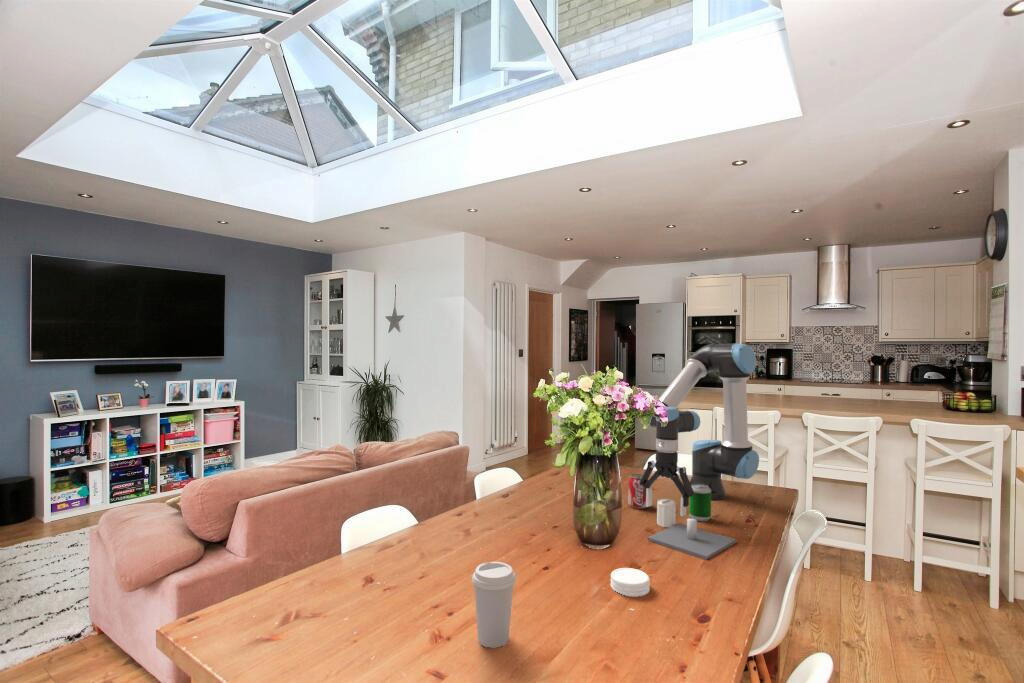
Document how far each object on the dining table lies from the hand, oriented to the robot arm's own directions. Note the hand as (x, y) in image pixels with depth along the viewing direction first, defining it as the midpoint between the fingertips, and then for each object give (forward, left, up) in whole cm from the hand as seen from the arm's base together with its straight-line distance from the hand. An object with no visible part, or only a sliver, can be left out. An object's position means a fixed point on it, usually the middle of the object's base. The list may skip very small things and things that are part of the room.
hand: (665, 510), depth 182 cm
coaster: (+50, +19, -5) cm, 53 cm away
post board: (+8, +14, -5) cm, 17 cm away
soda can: (-15, +5, -5) cm, 17 cm away
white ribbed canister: (0, 0, -5) cm, 5 cm away
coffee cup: (+92, +13, -5) cm, 93 cm away
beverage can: (-10, -18, -5) cm, 21 cm away
